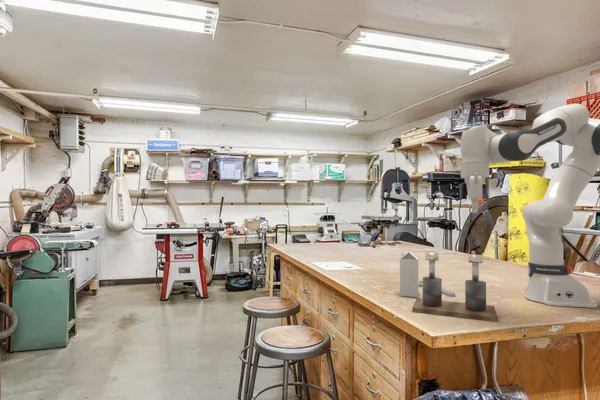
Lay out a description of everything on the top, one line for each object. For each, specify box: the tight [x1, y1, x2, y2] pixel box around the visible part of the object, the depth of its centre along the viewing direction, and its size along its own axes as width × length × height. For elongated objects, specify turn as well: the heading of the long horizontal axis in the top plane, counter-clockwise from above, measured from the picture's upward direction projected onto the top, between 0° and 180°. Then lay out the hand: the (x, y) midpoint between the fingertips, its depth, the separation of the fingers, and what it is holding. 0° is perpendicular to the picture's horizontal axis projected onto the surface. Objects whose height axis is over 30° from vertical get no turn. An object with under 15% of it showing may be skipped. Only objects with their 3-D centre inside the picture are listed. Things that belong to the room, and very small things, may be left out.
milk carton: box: [399, 247, 419, 298], centre depth 148 cm, size 7×7×19 cm
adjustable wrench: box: [418, 280, 456, 298], centre depth 157 cm, size 25×6×2 cm, turn 10°
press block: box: [411, 276, 499, 323], centre depth 126 cm, size 26×14×11 cm, turn 66°
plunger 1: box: [424, 251, 440, 278], centre depth 129 cm, size 4×4×9 cm
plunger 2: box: [467, 253, 484, 282], centre depth 123 cm, size 4×4×9 cm
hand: (474, 212), depth 124 cm, fingers closed
